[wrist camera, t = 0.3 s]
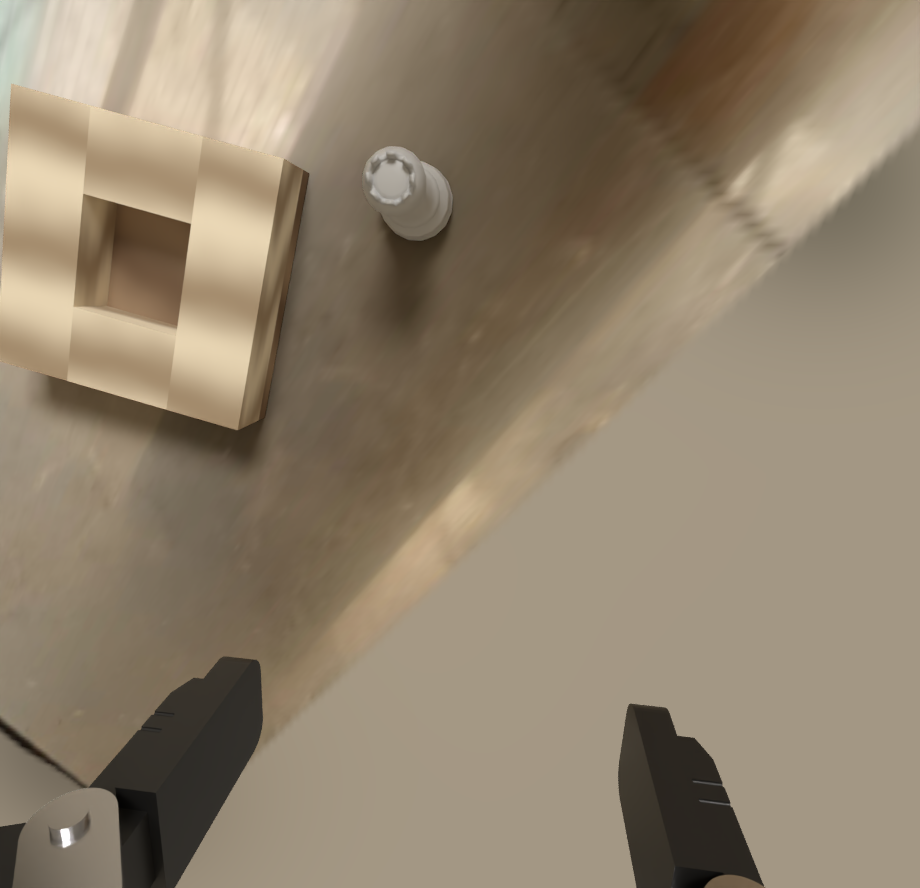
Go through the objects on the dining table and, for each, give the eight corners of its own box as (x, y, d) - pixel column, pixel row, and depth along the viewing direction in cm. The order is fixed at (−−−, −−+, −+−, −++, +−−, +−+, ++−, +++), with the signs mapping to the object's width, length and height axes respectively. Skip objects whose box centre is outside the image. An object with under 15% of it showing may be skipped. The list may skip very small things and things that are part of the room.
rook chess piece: (443, 250, 36) (423, 237, 29) (375, 231, 36) (336, 214, 29) (462, 174, 35) (445, 140, 27) (391, 155, 35) (354, 116, 28)
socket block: (64, 106, 36) (11, 83, 33) (309, 173, 36) (283, 158, 32) (46, 354, 41) (-4, 360, 37) (264, 417, 40) (237, 430, 36)
